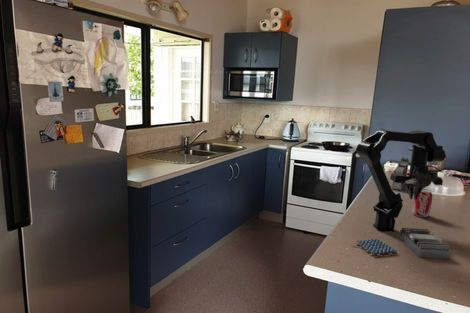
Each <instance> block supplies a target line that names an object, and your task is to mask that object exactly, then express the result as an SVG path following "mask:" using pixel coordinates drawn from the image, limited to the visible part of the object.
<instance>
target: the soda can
mask: <svg viewBox="0 0 470 313" xmlns="http://www.w3.org/2000/svg"><path fill="white" fill-rule="evenodd" d="M432 192H433V191H432V190H431V189H426V188H423V190H422V191H421V192H420V194H419V196H418V197H417V199H416V200H415V199H414V198H413V206H412V213H413V215H415V217H419V218H428V217H429V216H430V213H431V209H432V203H433V193H432Z"/></svg>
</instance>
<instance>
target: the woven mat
mask: <svg viewBox="0 0 470 313" xmlns="http://www.w3.org/2000/svg"><path fill="white" fill-rule="evenodd" d="M355 245H356V246H358V247H359V248H360V249H362V250H363V252H365V253H367V254H369V255H370V256H373V258H381V256H382V257H389V256H396V255H399V254H398V250H397V249H395V248H394V247H392V246H390V245H388V244H387V243H386V242H383V240H381V239H377V238H375V239H373V238H371V240H370V239H367V240H366V239H364V240H356V243H355Z"/></svg>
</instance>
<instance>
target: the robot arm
mask: <svg viewBox="0 0 470 313" xmlns="http://www.w3.org/2000/svg"><path fill="white" fill-rule="evenodd" d="M389 142H403V143H409V144H412V145H411V147H408V149H407V150H408V151H409V152H411V158H410V162H409V163H408V167H409V170H408V172H407V176H404V175H403V174H401V173H395V172H392V173H391V174H390V176H389V179H388V177H387V175H386V172H385V170H384V167H383V165H382V163H381V159H382V152H383V151H384V150H385V148H386V146H387V144H388V143H389ZM355 149H356V150H355V151H356V153H357V154H358V156H359V158H360V159H361V160H362V161H363V162H364V163H365V164H366V165H367V168H368V170H369V172H370V174H371V177H372V179H373V182H374V183H375V186H376V188H377V190H378V192H379V194H378V201H377V202H376V203H375V205H373V207H372V208H373V212H376V213H375V220H374V223H373V224H372V226H373V227H374V228H375V229H376V230H377V231H378V232H390V233H392V232H393V233H395V230H394V229H395V225H396V218H398V217H399V215H400V213H401V211H402V208H403V205H404V203H403V202H404V200H403V198H402V196H401V192H399V191H397V190H394V189H392V186H391V185H390V182H389V180H391V181H392V182H393V181H394V182H396V183H404V185H405V187H406V189H407V194H408V196H409V200H414V199H415V200H416V199H417V197H418V196H419V194H420V192H421V191H422V190H423V189H426V187H429V186H430V185H432V184H433V185H434V186H443V182H444V180H443V178H442V177H440V176H438V175H439V173H437V172H436V171H435V172H434V171H432V172H430V171H429V166H428V165H427V163H442V162H444V161H445V160H446V157H447V154H446V152H445V150H444V149H443V145H439V144H437V142H436V140H435V138H434V134H433V132H429V131H425V130H417V129H416V130H411V131H408V132H407V131H397V130H386V129H378V130H377V131H375V133H373V134H371V135H369V136H367V137H366V138H364V139H363V140H362V141H360V142H359V143H358V144H357V146H356V148H355Z"/></svg>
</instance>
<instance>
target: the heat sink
mask: <svg viewBox="0 0 470 313" xmlns="http://www.w3.org/2000/svg"><path fill="white" fill-rule="evenodd" d="M409 233H410V234H425V235H435V234H434V233H432V232H431V230H429V229H427V228H418V227H417V228H415V227H401V229H400V231H399V235H398V237H399V239H400V240H401V241H402V242H403V243H404V244H405V245H406V246H407V247H408V248H409V249H410V250H411V251H412V252H413V253H414V254H415V255H416V256H417V257H418V258H424V257H426V258H428V259H443V260H449V259H450V256H451V250H450V245H448V244H447V243H446V242H445V243H444V242H442V243H433V242H419V239H418V238H413V239H412V240H411V239H410V238H409V237H408V236H407V234H409ZM426 258H425V259H426Z"/></svg>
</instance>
